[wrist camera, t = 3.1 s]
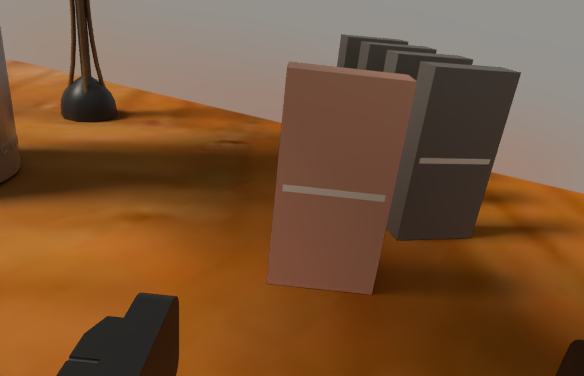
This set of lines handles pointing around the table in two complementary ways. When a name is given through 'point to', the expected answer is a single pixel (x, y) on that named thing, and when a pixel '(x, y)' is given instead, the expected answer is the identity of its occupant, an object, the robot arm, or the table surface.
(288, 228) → the terracotta domino
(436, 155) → the charcoal domino
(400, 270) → the table surface
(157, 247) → the table surface
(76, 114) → the wooden tabletop sculpture
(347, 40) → the charcoal domino
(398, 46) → the charcoal domino
